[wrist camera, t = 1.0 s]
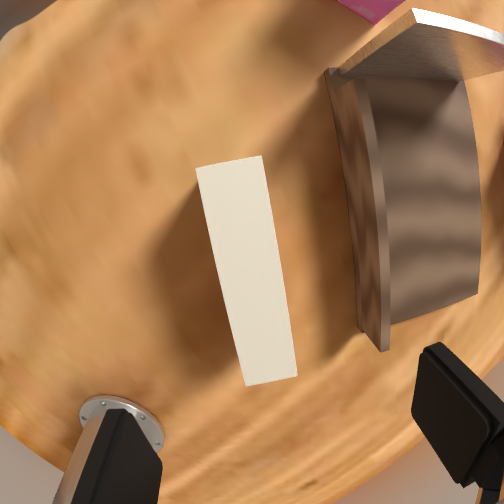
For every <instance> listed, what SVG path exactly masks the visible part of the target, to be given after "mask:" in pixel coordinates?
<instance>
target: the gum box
mask: <svg viewBox="0 0 504 504" xmlns="http://www.w3.org/2000/svg"><path fill="white" fill-rule="evenodd" d="M337 1H338V2H340V3H341V4H343V5H345V6H346V7H348V8H349V9H351V10H353V11H354V12H356V13H358V14H359V15H361V16H363V17H364V18H366V19H367V20H368V21H370V22H371V23H373V24H377V23H378V22H379V21H380V20H381V19H383V18H384V17H385V16H386V15H388V14H389V13H390V12H391V11H392V10H394V9H395V8H396V7H397V6H399V5H400V4H401V3H403V2H404V1H405V0H337Z"/></svg>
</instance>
